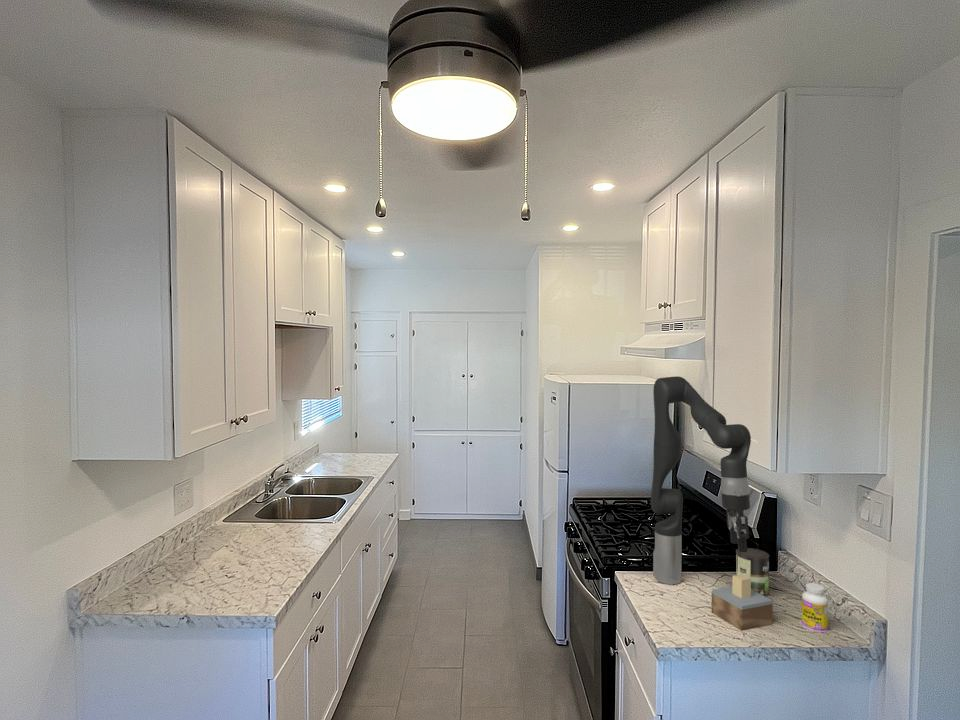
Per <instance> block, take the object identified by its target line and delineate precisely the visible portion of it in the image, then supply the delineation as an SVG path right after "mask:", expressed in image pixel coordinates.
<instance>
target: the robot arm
mask: <svg viewBox="0 0 960 720" xmlns="http://www.w3.org/2000/svg"><path fill="white" fill-rule="evenodd" d="M652 393H653V408H654V409H653V410H654V435H653V472H652V473H653V475H652V483H651V491H650V492H651V493H650V494H651V495H650V509H651V511H652V512H653V513H654V514H656V515H657V514H658V515H659V514H660V515H670V516H669V517H668V518H666V519H662V520H660V521H658V522H656V523H655V525H654V550H653V554H652V556H653V557H652V558H653V559H652V560H653V561H652V562H653V563H652V569H653V570H652V572H653V573H652V575H653V577H654V579H655V580H656V581H657V582H660V583H662V584H666V585H677V584H680V583H682V553H683V552H682V551H683V550H682V548H683V547H682V534H683V533H682V530H683V528H682V527H683V526H682V525H683V507H684V506H683V505H684V499H683V493H682V491H681V490H680V489H679V488H666V487H665V488H664V487H663V485H664V482H665V480H666V478H667V476H668V475H669V473H670V472H671V471H672V470H673V469H674V468H675V466H676V465H677V464H678V462H679V460H680V458H681V455H682V454H681V452H682V439H681V436H680V435H681V434H680V433H679V431H678V430H677V428H676V427H675V425H674V423H673V422H672V419H671V417H670V404H676V403H684V404H686V405H687V406H688V407H689V408H690V409H689V411H690V415H691V418H692V420H693V421H694V422H695V423H696V424H697V425H699V426H700V427H701V428H702V429H703V430H704V431H706V434H707V435H708V436H709V438H710V439H711V441H712V443H713V444H714V445H715V446H716V447H718V448H721V449H725V450H726V449H730V453H729V454H727V455H725V456H723V457H721V458H720V475H721V476H720V490H721V491H720V492H721V493H720V494H721V503H722V504H721V505H722V508H724V509H726V526H727V528H728V530H729V535H730V537H729V538H730V543H731V544H735V545H736V544H737V549H738V550H739V551H740V552H747V548H748V542H747V539H749V538H750V531H749V529H750V528H749V518H748V516H746V515H744V511H747V510H750V508H751V499H750V498H751V497H750V487H749V486H750V485H749V481H748V471H747V461H748V457H749V451H750V447H751V443H752V442H751V441H752V437H751V432H750V430H749V429H748V428H747V426H745V425H744V424H743V423H742V424H741V423H739V424H738V423H737V424H736V423H735V424H727V419H726V417H725V416H724V415H723V414H722V413H721V412H720V411H719V410H716V409H715V408H714V407H713V406H712V405H710V404H709V403H708V402H707V401H706V400H705V399H704V398H703V397H702V396H701V395H700V394H699V393H698V391H697V390H696V389H695V388H694V387H693V386H692V385H691V383H689V381H688V380H687V379H686V378H684V377H682V376H679V375H678V376H677V375H676V376H667V377H660V378H657V379H656V380H655V382H654V384H653V392H652ZM742 532H743V533H742Z"/></svg>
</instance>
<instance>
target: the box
mask: <svg viewBox="0 0 960 720" xmlns="http://www.w3.org/2000/svg"><path fill="white" fill-rule="evenodd" d="M773 607H774V605H773V604H769V605H764V606H759V607H754V608H748V609H743V610H741V609H739V608H738V607H736V606H734V605H732V604H730V603H729V602H727V601H725V600H723V599H722V598H720V597H718V596H716V595H714V594H713V593H712V592H711V614H713V615H715V616H717V617H718V618H719V619H721V620H723V621H724V622H726V623H727V624H730V626H733V627H734V628H737V630H740V631H741V632H743V631H748V630H753V629H757V628H762V627H766V626H772V625H773V624H774V621H773V620H774V619H773V616H774V615H773V613H774V612H773V610H774V608H773Z"/></svg>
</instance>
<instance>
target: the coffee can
mask: <svg viewBox="0 0 960 720" xmlns="http://www.w3.org/2000/svg"><path fill="white" fill-rule="evenodd" d="M735 554H736V555H735V556H736V557H735V558H736V559H735V561H736V563H735V564H736V568H735V569H736V572H735V573H736V575H740V574H742V575H744V576H746V577H748V578H750V579H751V590H753V591H755V592H757V593H759V594H761V595H763V596H765V597H767V598H768V596H769V594H770V591H769V590H770V554H769V553H768V552H767V551H764V550H761V549H757V548H751V547H747V552H740V551H739V550H738V548H737V549H735Z"/></svg>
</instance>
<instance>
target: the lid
mask: <svg viewBox="0 0 960 720" xmlns="http://www.w3.org/2000/svg"><path fill="white" fill-rule="evenodd" d="M731 583H732V586H726V587H725V586H724V587H719V588H715V589H714V588H713V589H711V594H712V593H713V594H714V595H716V596H718V597H720V598H722V599H723V600H725V601H727V602H729V603H730V604H732V605H734V606H736V607H738V608H739V609H741V610H743V609H748V608H754V607H759V606H764V605H769V604H773V602H774V601H773V600H772V599H771V598H768V596H767V597H765V596H763V595H761V594H759V593H757V592H755V591H753V590H751V579H750V578H748V577H746V576H744V575H742V574H740V575H735V574H734V575H732V582H731Z"/></svg>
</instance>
